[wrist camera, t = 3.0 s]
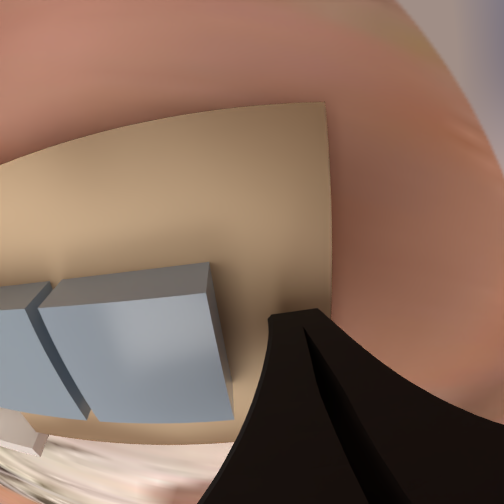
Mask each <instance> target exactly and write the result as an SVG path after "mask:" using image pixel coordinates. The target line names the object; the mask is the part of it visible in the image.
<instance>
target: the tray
mask: <svg viewBox="0 0 504 504" xmlns="http://www.w3.org/2000/svg"><path fill="white" fill-rule="evenodd" d="M48 436H49V434H43V433H38V432H36V431H35V430H34V429H33V428H32V426H31V425H30V424H29V423H28V421H27V420H26V419H25V417H24V416H23V415H22V414H21V412H20V411H15V410H10V409H5V408H1V407H0V446H2V447H5V448H9V449H12V450H15V451H19V452H22V453H26V454H30V455H34V456H38V457H41V454H42V452H43V449H44V446H45V444H46V441H47V439H48Z"/></svg>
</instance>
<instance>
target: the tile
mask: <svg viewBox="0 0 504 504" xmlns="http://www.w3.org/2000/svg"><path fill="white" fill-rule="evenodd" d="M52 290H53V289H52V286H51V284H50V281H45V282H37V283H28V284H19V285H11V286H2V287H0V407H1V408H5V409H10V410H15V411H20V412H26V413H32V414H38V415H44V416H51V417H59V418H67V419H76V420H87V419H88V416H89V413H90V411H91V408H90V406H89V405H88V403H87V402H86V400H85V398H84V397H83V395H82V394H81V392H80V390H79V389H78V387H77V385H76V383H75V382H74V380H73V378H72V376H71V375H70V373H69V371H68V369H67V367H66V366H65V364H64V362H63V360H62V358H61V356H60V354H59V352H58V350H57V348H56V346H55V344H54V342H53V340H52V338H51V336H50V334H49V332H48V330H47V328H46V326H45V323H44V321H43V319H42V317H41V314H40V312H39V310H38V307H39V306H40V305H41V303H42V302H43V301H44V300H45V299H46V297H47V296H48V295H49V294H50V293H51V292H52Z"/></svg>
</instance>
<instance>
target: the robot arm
mask: <svg viewBox="0 0 504 504" xmlns="http://www.w3.org/2000/svg"><path fill="white" fill-rule="evenodd" d="M267 320H268V331H269V333H268V343H267V350H266V354H265V359H264V363H263V368H262V372H261V376H260V379H259V382H258V385H257V388H256V391H255V394H254V398H253V400H252V403H251V406H250V408H249V411H248V413H247V416H246V418H245V421H244V423H243V425H242V427H241V430H240V432H239V434H238V436H237V438H236V440H235V442H234V444H233V446H232V448H231V450H230V452H229V454H228V456H227V457H226V459H225V461H224V463H223V465H222V466H221V468H220V470H219V472H218V473H217V475H216V476H215V478H214V480H213V481H212V483H211V484H210V486H209V487H208V489H207V490H206V492H205V493H204V494H203V496H202V497H201V499H200V500H199V502H198V503H197V504H504V425H503V424H499V423H496V422H493V421H490V420H488V419H485V418H482V417H480V416H477V415H474V414H472V413H470V412H467V411H465V410H463V409H461V408H458V407H456V406H454V405H452V404H450V403H448V402H446V401H444V400H442V399H440V398H438V397H436V396H434V395H432V394H430V393H429V392H427V391H425V390H423V389H422V388H420V387H418V386H416V385H415V384H413V383H411V382H410V381H408V380H407V379H405V378H403V377H402V376H400V375H399V374H397V373H396V372H395V371H393V370H392V369H390V368H389V367H387V366H386V365H385V364H383V363H382V362H381V361H379V360H378V359H377V358H375V357H374V356H373V355H371V354H370V353H369V352H368V351H367V350H365V349H364V348H363V347H362V346H360V345H359V344H358V343H357V342H356V341H354V340H353V339H352V338H351V337H350V336H348V335H347V334H346V333H345V332H344V331H343V330H342V329H341V328H339V327H338V326H337V325H336V324H335V323H334V322H333V321H332V320H331V319H330V318H328V317H327V316H326V315H325V314H324V313H323V312H322V311H321V310H319V309H318V308H313V309H307V310H300V311H293V312H286V313H279V314H271V316H270V317H269V318H268V319H267Z"/></svg>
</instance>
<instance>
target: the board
mask: <svg viewBox="0 0 504 504" xmlns="http://www.w3.org/2000/svg"><path fill="white" fill-rule="evenodd" d="M203 262H209V263H210V269H211V274H212V280H213V286H214V291H215V297H216V302H217V307H218V313H219V318H220V323H221V328H222V334H223V339H224V344H225V349H226V354H227V358H228V363H229V368H230V373H231V378H232V382H233V401H234V420H226V421H213V422H196V423H116V422H99V420H98V419H97V417H96V416H95V414H94V413H93V411H92V410H91V411H90V413H89V416H88V419H87V420H76V419H67V418H59V417H51V416H44V415H38V414H32V413H26V412H21V414H22V415H23V416H24V417H25V419H26V420H27V421H28V423H29V424H30V425H31V426H32V428H33V429H34V430H35V431H36V432H38V433H43V434H49V435H55V436H61V437H68V438H75V439H82V440H91V441H101V442H112V443H127V444H151V445H188V444H212V443H227V442H235V440H236V438H237V436H238V434H239V432H240V430H241V427H242V425H243V423H244V421H245V418H246V416H247V413H248V411H249V408H250V406H251V403H252V400H253V398H254V394H255V391H256V388H257V385H258V382H259V379H260V376H261V372H262V368H263V363H264V359H265V354H266V350H267V343H268V333H269V331H268V320H267V319H268V318H269V317H270V316H271V314H279V313H286V312H293V311H300V310H307V309H313V308H318V309H319V310H321V311H322V312H323V313H324V314H325V315H326V316H327V317H328V318H330V319H331V296H332V215H331V184H330V163H329V146H328V131H327V119H326V107H325V102H304V103H284V104H269V105H257V106H246V107H236V108H228V109H219V110H212V111H205V112H198V113H191V114H185V115H179V116H173V117H168V118H162V119H157V120H152V121H147V122H142V123H138V124H133V125H128V126H124V127H120V128H116V129H112V130H108V131H104V132H100V133H96V134H92V135H89V136H85V137H81V138H78V139H74V140H71V141H68V142H64V143H61V144H58V145H55V146H52V147H49V148H46V149H43V150H40V151H37V152H34V153H31V154H28V155H26V156H23V157H20V158H17V159H15V160H12V161H10V162H7V163H4V164H2V165H0V287H2V286H11V285H19V284H28V283H37V282H45V281H50V284H51V286H52V289H54V288H55V287H56V286H57V285H58V284H59V282H60V281H61V280H62V279H71V278H79V277H88V276H96V275H104V274H113V273H121V272H129V271H138V270H146V269H154V268H163V267H171V266H179V265H187V264H195V263H203Z"/></svg>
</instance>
